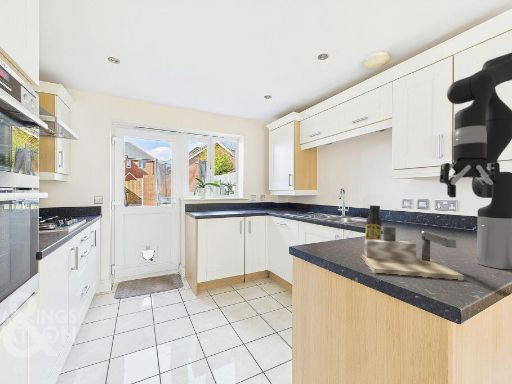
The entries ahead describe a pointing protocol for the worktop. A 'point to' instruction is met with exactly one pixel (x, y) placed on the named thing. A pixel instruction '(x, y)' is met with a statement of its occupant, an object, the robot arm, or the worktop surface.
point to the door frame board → (412, 268)
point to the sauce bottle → (373, 224)
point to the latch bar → (439, 239)
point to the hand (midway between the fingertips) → (468, 197)
